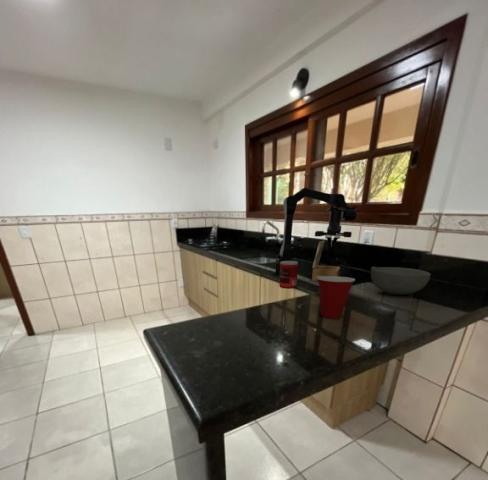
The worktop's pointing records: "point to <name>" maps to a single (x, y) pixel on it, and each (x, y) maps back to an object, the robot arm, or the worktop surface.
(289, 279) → the canned food
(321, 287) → the plastic cup
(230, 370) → the worktop surface
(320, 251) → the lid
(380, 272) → the bowl
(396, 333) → the worktop surface
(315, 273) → the chest
